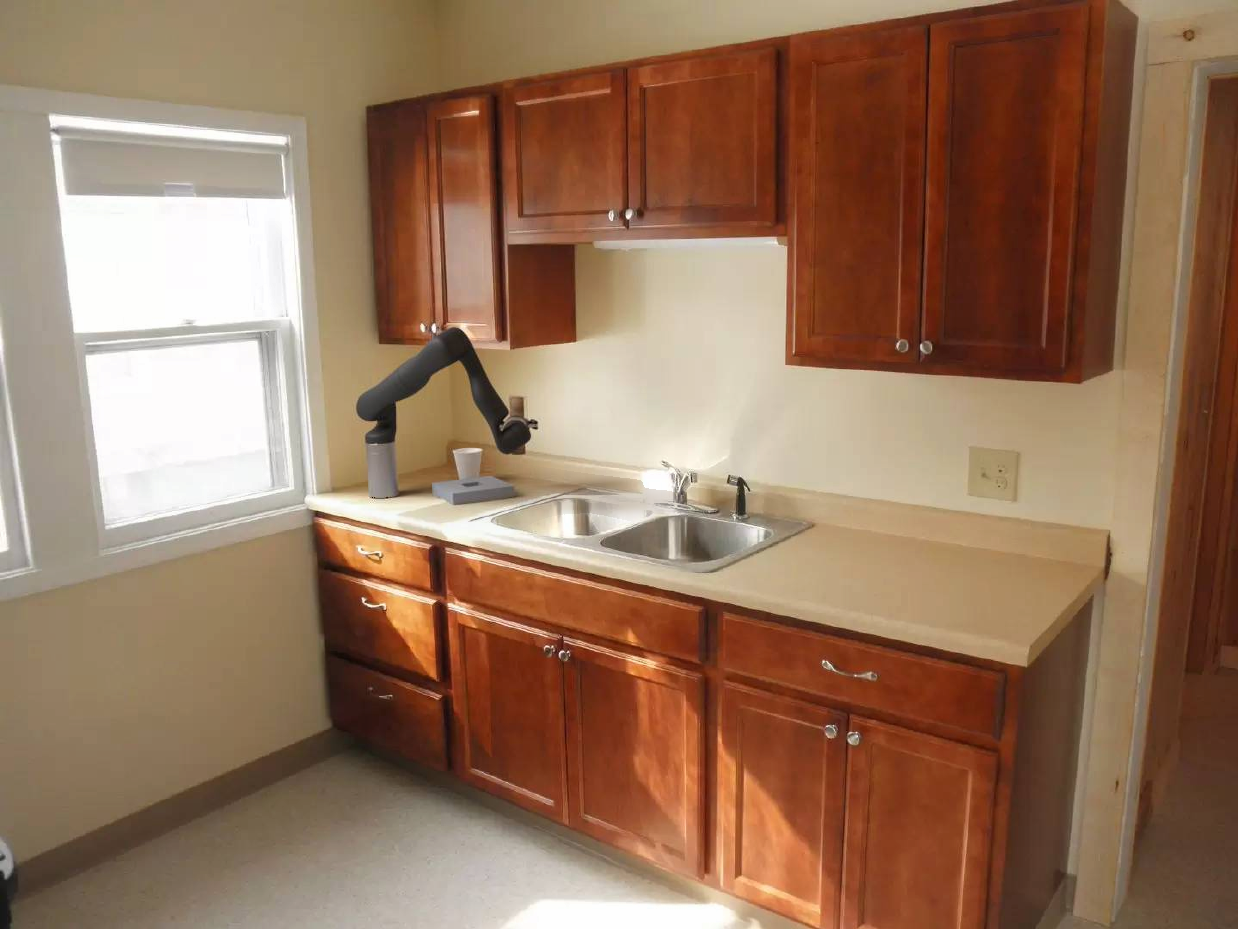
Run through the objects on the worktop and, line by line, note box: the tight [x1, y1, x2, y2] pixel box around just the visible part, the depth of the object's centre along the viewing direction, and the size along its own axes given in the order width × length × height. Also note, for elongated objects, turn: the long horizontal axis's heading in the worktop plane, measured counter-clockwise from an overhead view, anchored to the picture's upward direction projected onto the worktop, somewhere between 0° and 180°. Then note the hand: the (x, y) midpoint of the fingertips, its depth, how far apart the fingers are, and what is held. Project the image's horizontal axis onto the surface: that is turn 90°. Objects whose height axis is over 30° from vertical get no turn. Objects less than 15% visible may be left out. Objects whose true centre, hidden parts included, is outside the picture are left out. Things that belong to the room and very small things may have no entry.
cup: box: [452, 447, 484, 480], centre depth 342 cm, size 10×10×11 cm
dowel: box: [508, 396, 526, 456], centre depth 327 cm, size 4×4×18 cm
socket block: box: [431, 475, 516, 506], centre depth 323 cm, size 20×20×4 cm
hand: (517, 421), depth 329 cm, fingers closed on dowel, 4 cm apart
